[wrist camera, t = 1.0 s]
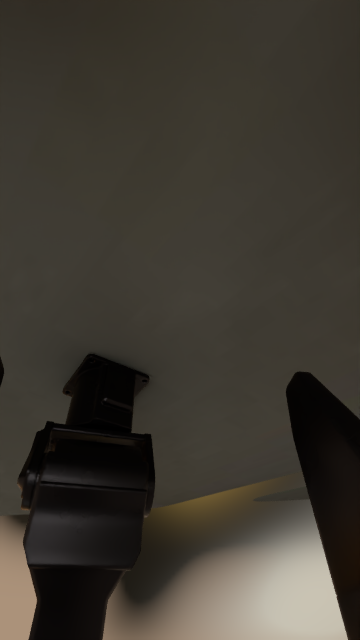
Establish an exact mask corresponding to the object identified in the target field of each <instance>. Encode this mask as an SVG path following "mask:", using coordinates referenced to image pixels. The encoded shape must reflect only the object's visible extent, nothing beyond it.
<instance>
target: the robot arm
mask: <svg viewBox="0 0 360 640" xmlns="http://www.w3.org/2000/svg"><path fill="white" fill-rule="evenodd" d="M3 376H4V367H3V364H2V360H1V357H0V386H1V383H2V379H3ZM148 383H149V376H148V375H146V374H143V373H141V372H138V371H136V370H133V369H131V368H128V367H125V366H123V365H120V364H118V363H115V362H113V361H110V360H108V359H105V358H102V357H100V356H97V355H95V354H88V355H87V356H86V358H85V359H84V361H83V362H82V363H81V365H80V366H79V367H78V369H77V370H76V371H75V373H74V374H73V376H72V377H71V378H70V380H69V381H68V382H67V384H66V385H65V386H64V388H63V393H64V394H65V395H68V396H71V397H72V399H71V403H70V407H69V411H68V415H67V419H66V423H65V424H58V423H54V422H51V421H47V423H46V425H45V428H44V429H43V430H41V431H38V432H37V433H36V436H35V439H34V442H33V445H32V448H31V451H30V453H29V456H28V458H27V460H26V462H25V464H24V466H23V468H22V471H21V473H20V475H19V478H18V481H17V484H18V486H19V487H20V489H21V491H22V495H21V498H23V499H22V505H21V510H31V511H30V515H29V519H28V523H27V527H26V530H25V534H24V539H23V546H24V550H25V554H26V559H27V564H28V567H29V569H30V573H31V577H32V581H33V585H34V589H35V593H36V597H37V604H36V609H35V613H34V618H33V622H32V627H31V631H30V636H29V640H102V639H103V631H104V623H105V615H106V609H107V602H108V599H109V597H110V596H111V594H112V593H113V591H114V589H115V588H116V586H117V584H118V583H119V581H120V579H121V578H122V576H123V574H124V573H125V571H126V570H131V569H132V568H133V566H134V564H135V562H136V560H137V558H138V556H139V554H140V551H141V537H142V529H143V521H144V517H148V515H149V513H150V510H151V507H152V503H153V498H154V490H155V469H154V459H153V448H152V438H151V434H137V433H131V431H132V418H133V405H134V397H135V396H136V395H137V394H138V393H139V392H140V391H141V390H142V389H143V388H144V387H145V386H146V385H147V384H148ZM286 397H287V403H288V409H289V415H290V421H291V428H292V433H293V438H294V442H295V446H296V450H297V454H298V457H299V461H300V465H301V468H302V472H303V475H304V479H305V483H306V487H307V490H308V494H309V497H310V501H311V505H312V508H313V512H314V516H315V519H316V523H317V527H318V530H319V534H320V537H321V541H322V545H323V549H324V552H325V556H326V560H327V563H328V567H329V570H330V574H331V578H332V582H333V585H334V589H335V592H336V595H337V600H338V604H339V608H340V611H341V615H342V619H343V622H344V626H345V630H346V633H347V637H348V640H360V419H359V418H358V417H357V416H356V415H354V414H353V413H352V412H351V411H350V410H349V409H348V408H347V407H346V406H345V405H344V404H343V403H342V402H341V401H340V400H339V399H338V398H336V397H335V396H334V395H333V394H332V393H331V392H330V391H329V390H328V389H327V388H326V387H325V386H324V385H323V384H322V383H321V382H320V381H318V380H317V379H316V378H315V377H314V376H313V375H312V374H311V373H309V372H296V373H295V374H294V376H293V378H292V379H291V381H290V383H289V384H288V386H287V389H286Z"/></svg>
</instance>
